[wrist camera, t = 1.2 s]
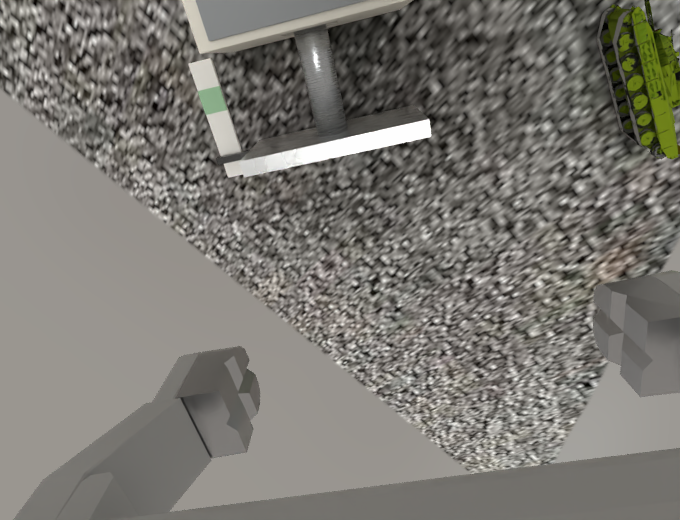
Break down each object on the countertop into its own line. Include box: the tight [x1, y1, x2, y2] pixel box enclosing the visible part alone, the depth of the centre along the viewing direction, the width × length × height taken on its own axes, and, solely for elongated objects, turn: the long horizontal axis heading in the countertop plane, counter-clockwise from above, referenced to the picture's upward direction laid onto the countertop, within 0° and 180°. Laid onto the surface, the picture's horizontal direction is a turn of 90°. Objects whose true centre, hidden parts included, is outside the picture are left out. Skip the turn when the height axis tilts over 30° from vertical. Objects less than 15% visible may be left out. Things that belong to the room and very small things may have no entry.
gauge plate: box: [216, 24, 431, 177], centre depth 31 cm, size 11×18×8 cm, turn 102°
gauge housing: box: [182, 0, 413, 178], centre depth 30 cm, size 18×18×10 cm
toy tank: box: [596, 0, 680, 159], centre depth 31 cm, size 7×19×10 cm
